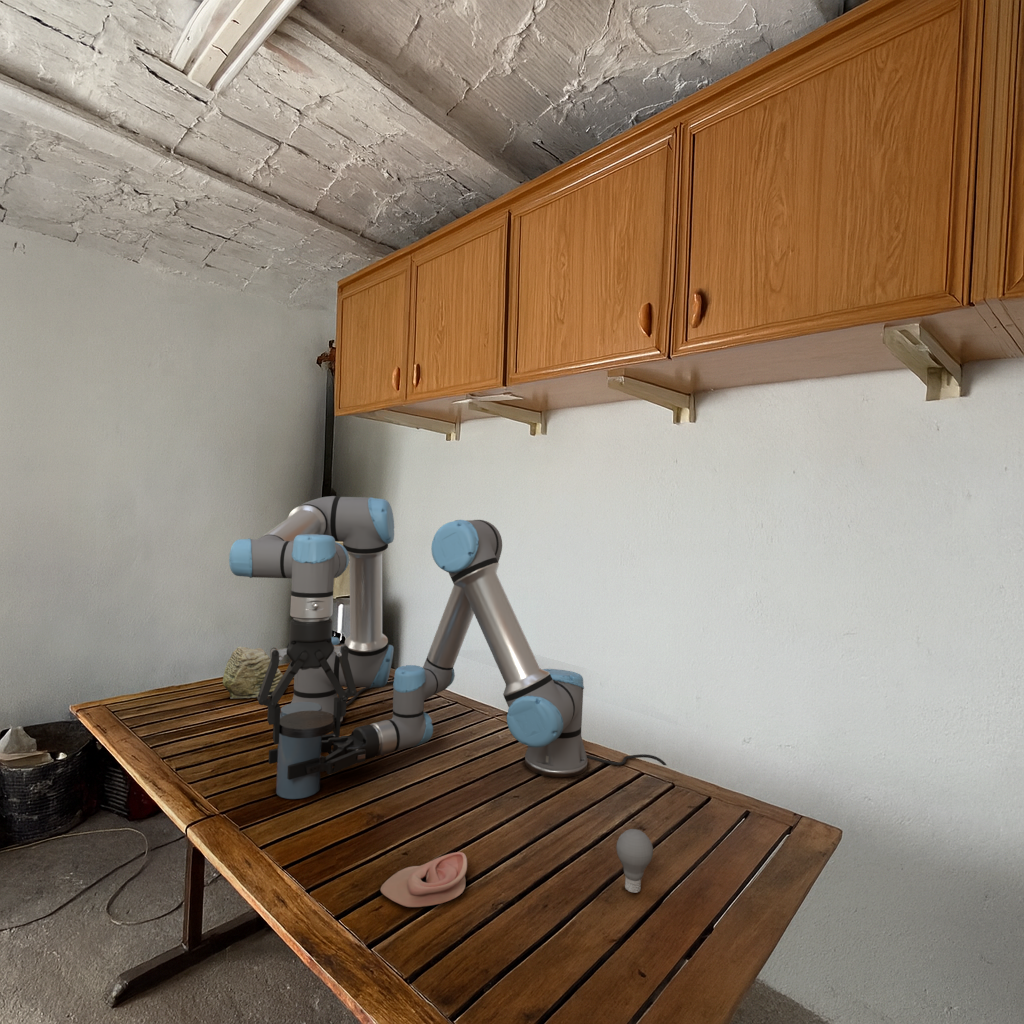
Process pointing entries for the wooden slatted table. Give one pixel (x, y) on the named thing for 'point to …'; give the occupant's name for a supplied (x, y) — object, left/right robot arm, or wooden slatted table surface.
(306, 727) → the lid
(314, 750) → the jar
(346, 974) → the wooden slatted table surface
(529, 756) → the right robot arm
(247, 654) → the fossil
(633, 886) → the light bulb
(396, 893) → the anatomical model
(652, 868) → the wooden slatted table surface
